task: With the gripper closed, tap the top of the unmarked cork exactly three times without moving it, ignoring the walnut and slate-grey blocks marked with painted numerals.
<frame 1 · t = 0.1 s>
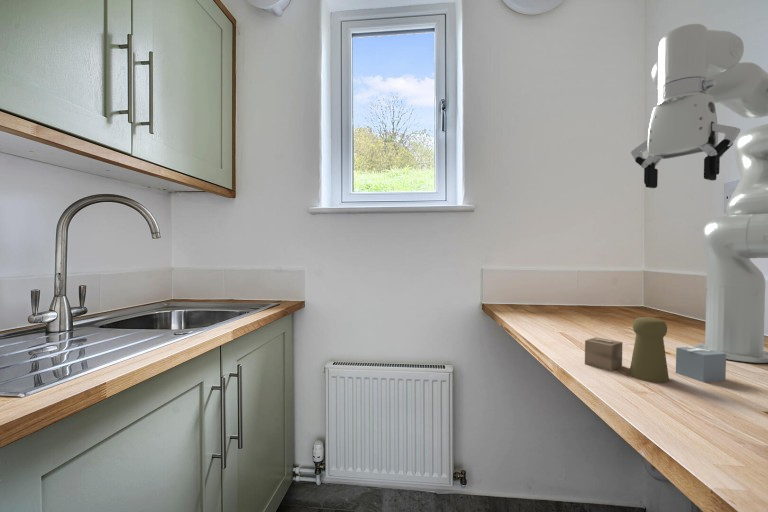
hand: (678, 183, 71), 37 cm above the table, tool pointing down, fingers open, 9 cm apart
cork: (648, 377, 67), on the table
slate numeral block: (699, 377, 68), on the table
walnut numeral block: (603, 365, 74), on the table
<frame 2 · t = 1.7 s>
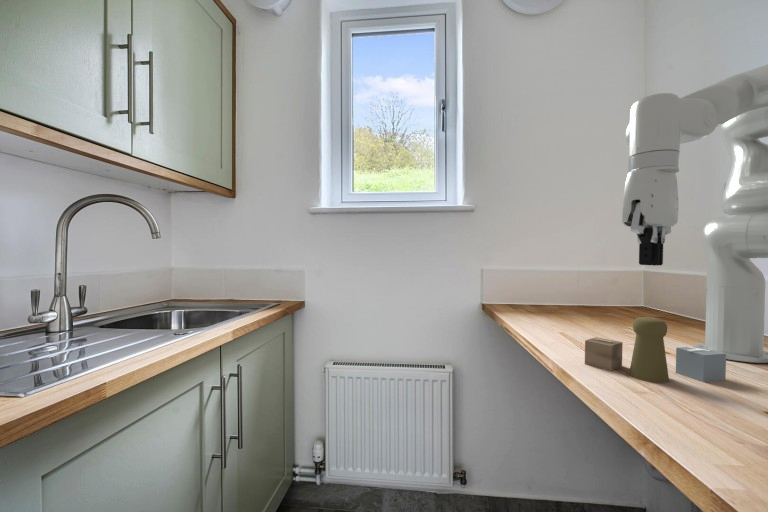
hand: (650, 264, 67), 21 cm above the table, tool pointing down, fingers closed
nothing on the table moved.
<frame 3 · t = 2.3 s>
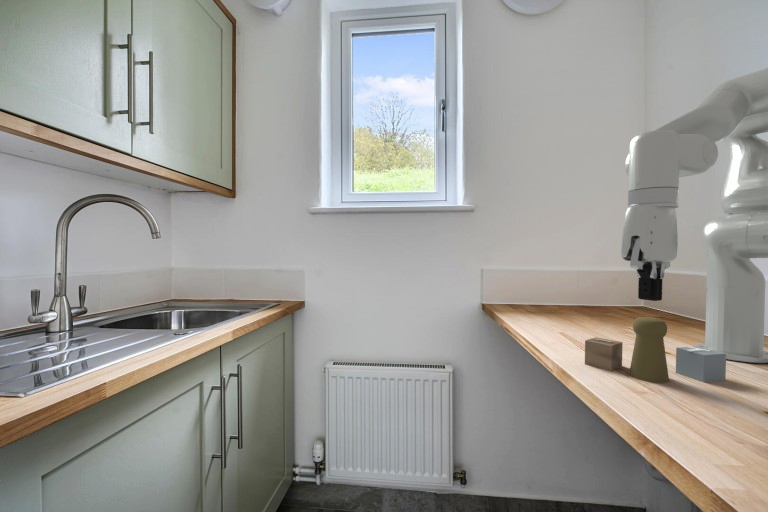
hand: (649, 299, 67), 14 cm above the table, tool pointing down, fingers closed
nothing on the table moved.
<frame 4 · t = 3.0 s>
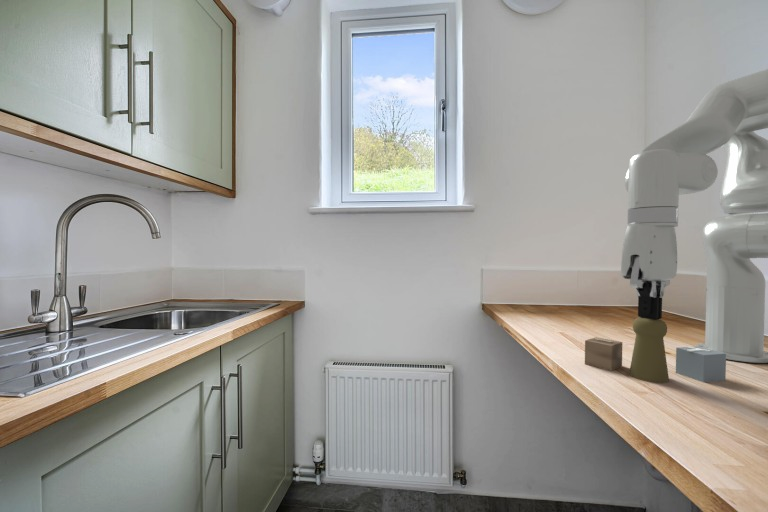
hand: (649, 317, 67), 11 cm above the table, tool pointing down, fingers closed
cork: (648, 377, 67), on the table, touching gripper
everything else where it was.
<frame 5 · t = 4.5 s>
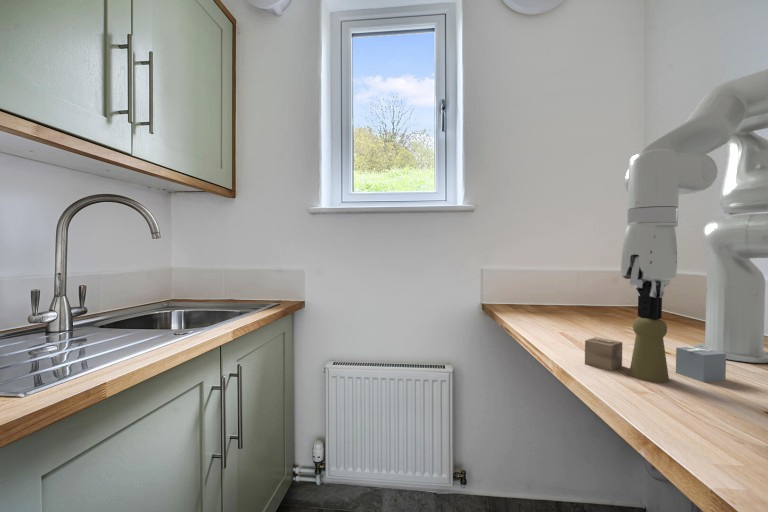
hand: (649, 317, 67), 11 cm above the table, tool pointing down, fingers closed
nothing on the table moved.
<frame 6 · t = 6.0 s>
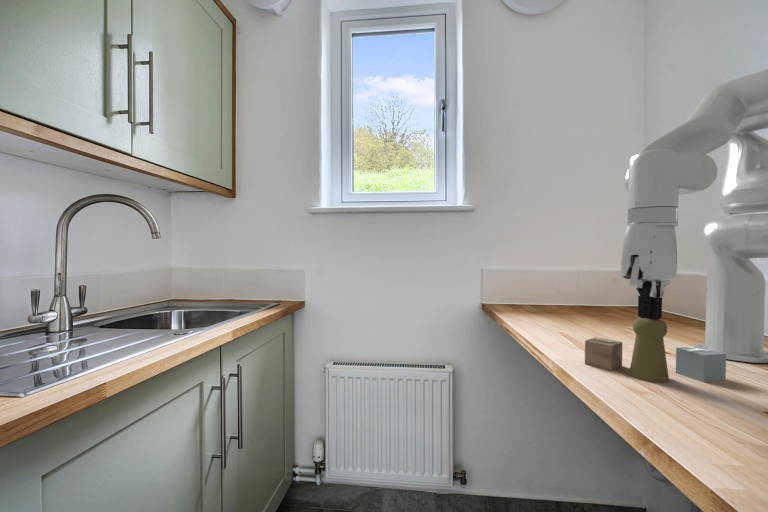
hand: (649, 317, 67), 11 cm above the table, tool pointing down, fingers closed
nothing on the table moved.
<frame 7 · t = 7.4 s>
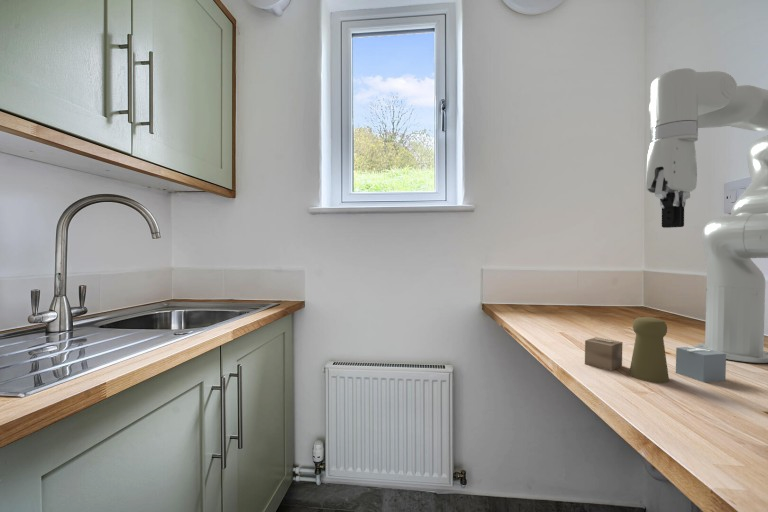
hand: (672, 227, 73), 28 cm above the table, tool pointing down, fingers closed
cork: (648, 377, 67), on the table
everything else where it was.
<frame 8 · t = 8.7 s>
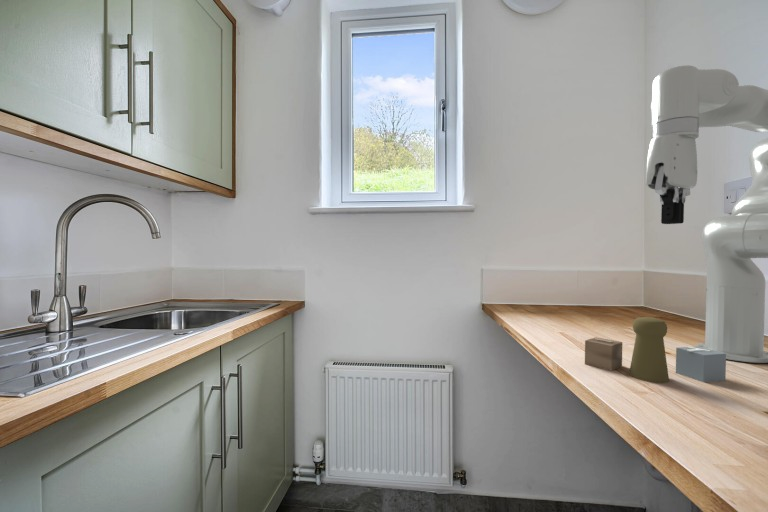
hand: (672, 223, 74), 29 cm above the table, tool pointing down, fingers closed
nothing on the table moved.
at the end: cork moved 0.2 cm from its start; cork tilted 0°; walnut numeral block moved 0.1 cm from its start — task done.
